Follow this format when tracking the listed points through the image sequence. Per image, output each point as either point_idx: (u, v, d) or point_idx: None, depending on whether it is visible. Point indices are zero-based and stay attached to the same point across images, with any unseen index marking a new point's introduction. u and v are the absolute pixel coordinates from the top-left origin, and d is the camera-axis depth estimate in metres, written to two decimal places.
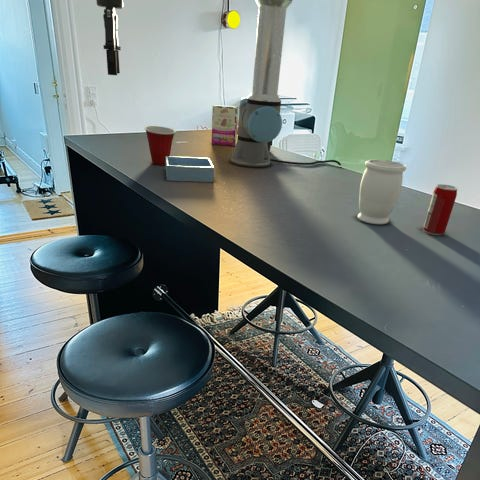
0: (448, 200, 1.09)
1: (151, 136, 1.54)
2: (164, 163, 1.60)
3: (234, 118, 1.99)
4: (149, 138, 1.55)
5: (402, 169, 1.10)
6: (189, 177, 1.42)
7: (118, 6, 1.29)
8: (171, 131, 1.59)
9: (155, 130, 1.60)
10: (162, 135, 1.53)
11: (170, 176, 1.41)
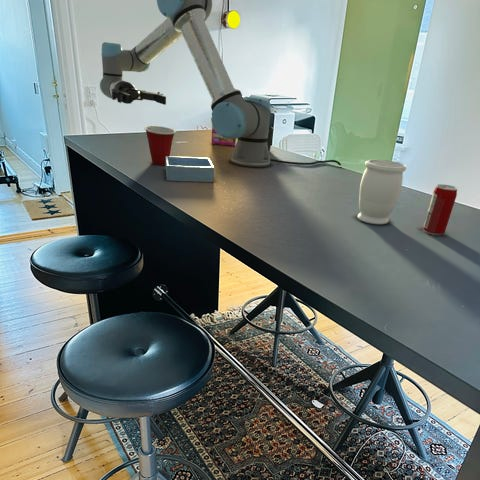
0: (448, 200, 1.09)
1: (151, 136, 1.54)
2: (164, 163, 1.60)
3: None
4: (149, 138, 1.55)
5: (402, 169, 1.10)
6: (189, 177, 1.42)
7: (120, 85, 1.67)
8: (171, 131, 1.59)
9: (155, 130, 1.60)
10: (162, 135, 1.53)
11: (170, 176, 1.41)
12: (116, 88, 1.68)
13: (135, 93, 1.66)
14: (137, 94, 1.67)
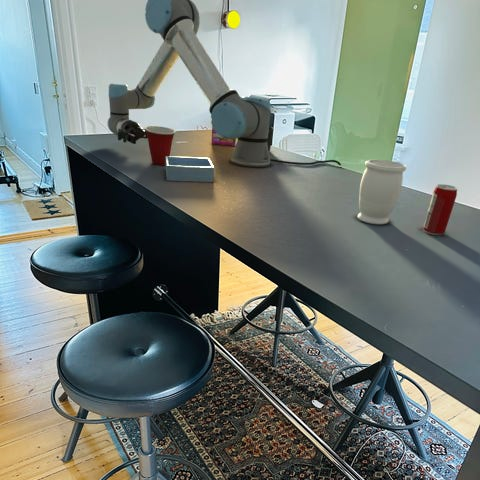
0: (448, 200, 1.09)
1: (151, 136, 1.54)
2: (164, 163, 1.60)
3: None
4: (149, 138, 1.55)
5: (402, 169, 1.10)
6: (189, 177, 1.42)
7: (126, 124, 1.72)
8: (171, 131, 1.59)
9: (155, 130, 1.60)
10: (162, 135, 1.53)
11: (170, 176, 1.41)
12: (122, 127, 1.74)
13: (140, 132, 1.71)
14: (142, 133, 1.72)
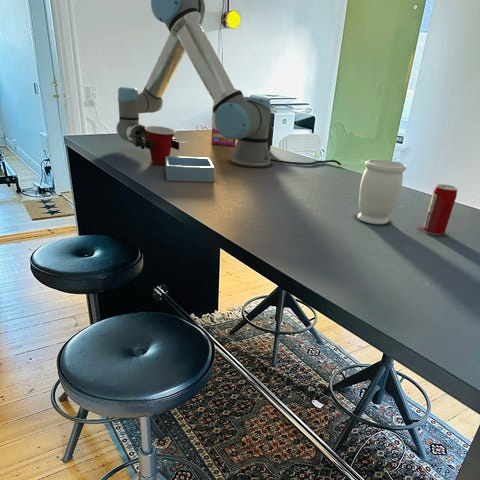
0: (448, 200, 1.09)
1: (151, 136, 1.54)
2: (164, 163, 1.60)
3: None
4: (149, 138, 1.55)
5: (402, 169, 1.10)
6: (189, 177, 1.42)
7: (137, 129, 1.66)
8: (171, 131, 1.59)
9: (155, 130, 1.60)
10: (162, 135, 1.53)
11: (170, 176, 1.41)
12: (132, 133, 1.67)
13: None
14: None
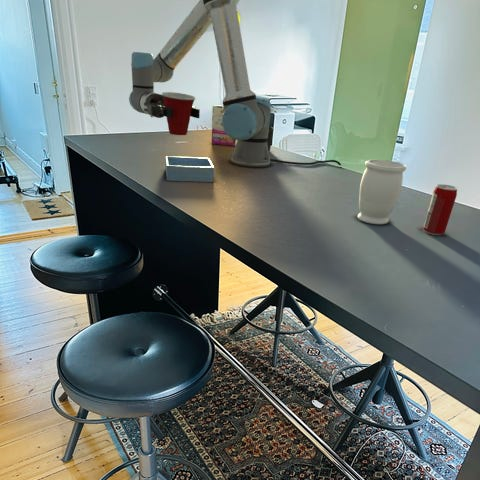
0: (448, 200, 1.09)
1: (169, 101, 1.39)
2: (183, 133, 1.45)
3: None
4: (166, 105, 1.40)
5: (402, 169, 1.10)
6: (189, 177, 1.42)
7: (152, 97, 1.51)
8: (190, 98, 1.44)
9: (173, 97, 1.45)
10: (181, 101, 1.38)
11: (170, 176, 1.41)
12: (147, 101, 1.52)
13: None
14: None
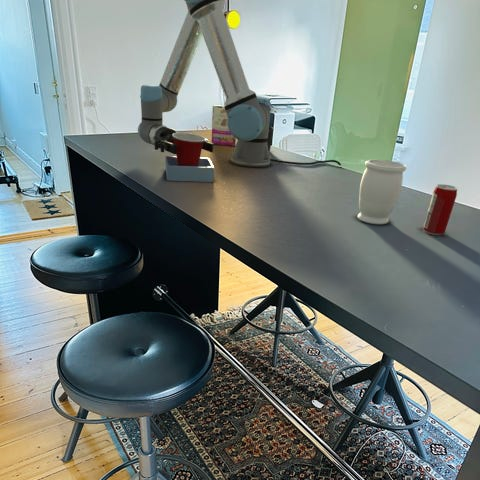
0: (448, 200, 1.09)
1: (180, 143, 1.40)
2: None
3: None
4: (177, 146, 1.42)
5: (402, 169, 1.10)
6: (189, 177, 1.42)
7: (162, 131, 1.52)
8: (200, 138, 1.46)
9: (183, 137, 1.47)
10: (192, 143, 1.39)
11: (170, 176, 1.41)
12: (157, 135, 1.53)
13: None
14: None
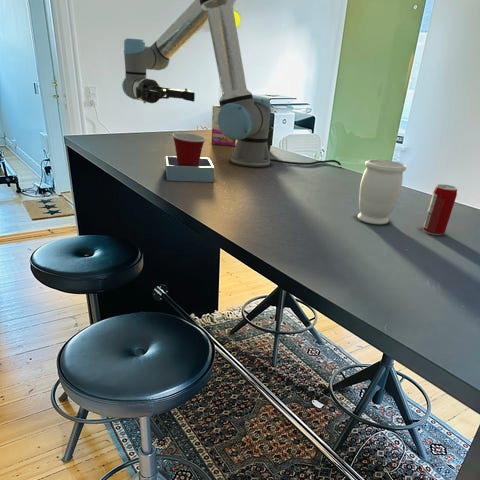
0: (448, 200, 1.09)
1: (180, 143, 1.40)
2: None
3: None
4: (177, 146, 1.42)
5: (402, 169, 1.10)
6: (189, 177, 1.42)
7: (145, 83, 1.53)
8: (200, 138, 1.46)
9: (183, 137, 1.47)
10: (192, 143, 1.39)
11: (170, 176, 1.41)
12: (140, 87, 1.55)
13: (161, 91, 1.52)
14: (163, 92, 1.53)
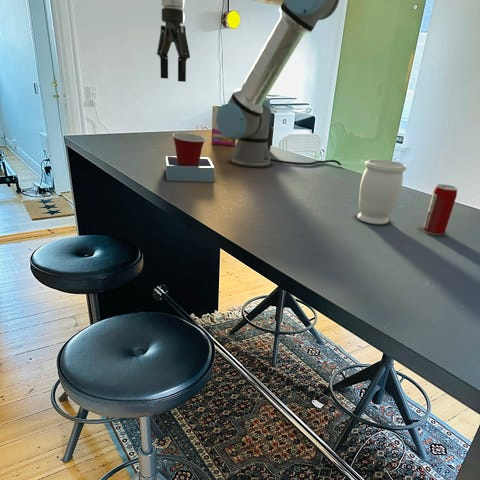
0: (448, 200, 1.09)
1: (180, 143, 1.40)
2: None
3: None
4: (177, 146, 1.42)
5: (402, 169, 1.10)
6: (189, 177, 1.42)
7: (182, 22, 1.51)
8: (200, 138, 1.46)
9: (183, 137, 1.47)
10: (192, 143, 1.39)
11: (170, 176, 1.41)
12: (180, 16, 1.49)
13: None
14: None
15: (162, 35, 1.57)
